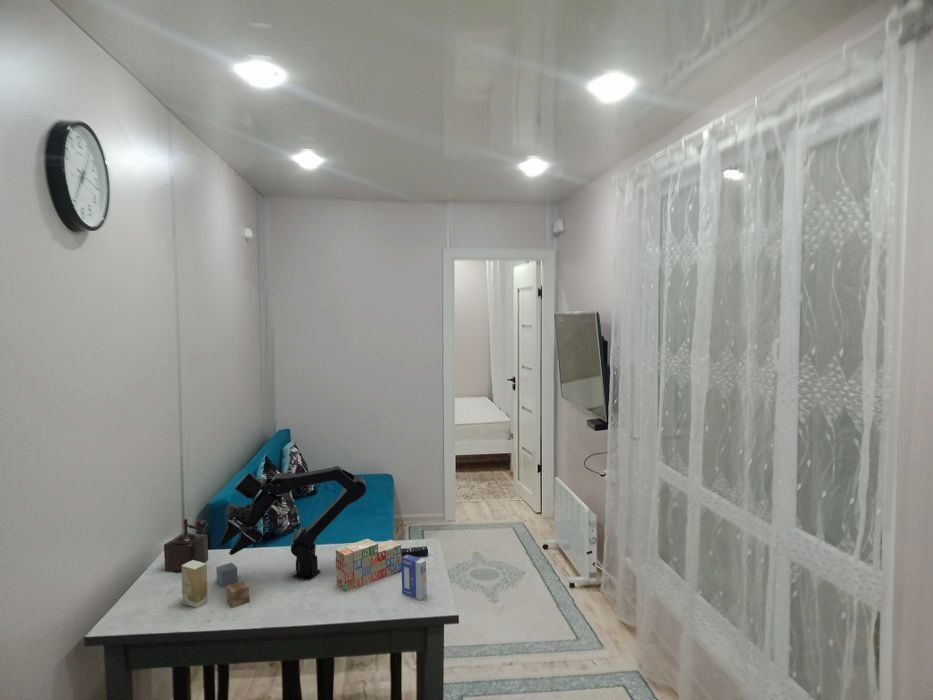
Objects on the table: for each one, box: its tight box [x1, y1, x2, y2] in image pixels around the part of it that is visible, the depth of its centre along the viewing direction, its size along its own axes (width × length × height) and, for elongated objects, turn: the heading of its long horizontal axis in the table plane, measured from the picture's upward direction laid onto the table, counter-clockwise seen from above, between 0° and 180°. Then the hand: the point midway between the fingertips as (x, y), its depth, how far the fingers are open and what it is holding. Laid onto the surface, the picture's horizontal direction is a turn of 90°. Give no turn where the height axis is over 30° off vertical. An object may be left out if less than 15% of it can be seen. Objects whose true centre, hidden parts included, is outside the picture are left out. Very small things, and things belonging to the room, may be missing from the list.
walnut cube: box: [226, 580, 250, 609], centre depth 174 cm, size 5×5×5 cm
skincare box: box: [181, 560, 208, 609], centre depth 173 cm, size 6×4×12 cm
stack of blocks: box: [335, 538, 402, 592], centre depth 188 cm, size 21×6×12 cm, turn 131°
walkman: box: [401, 553, 428, 601], centre depth 176 cm, size 8×3×12 cm, turn 54°
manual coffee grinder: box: [163, 518, 209, 573], centre depth 198 cm, size 16×11×18 cm
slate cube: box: [216, 562, 239, 588], centre depth 187 cm, size 5×5×5 cm
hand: (225, 549), depth 179 cm, fingers open, 9 cm apart
